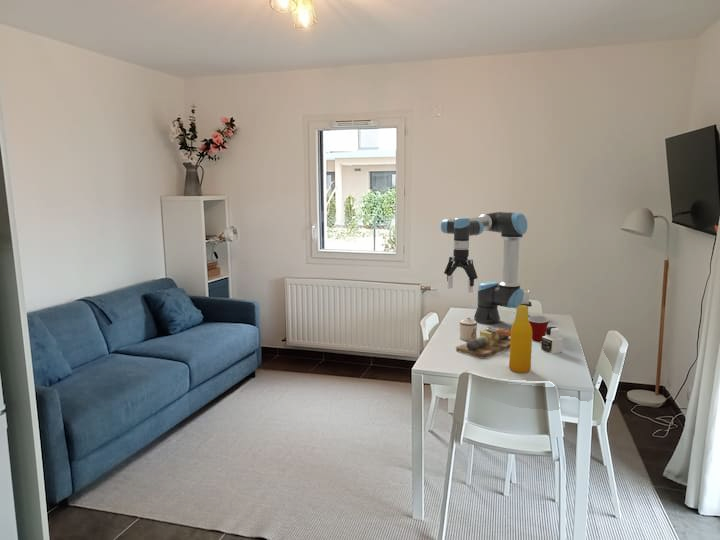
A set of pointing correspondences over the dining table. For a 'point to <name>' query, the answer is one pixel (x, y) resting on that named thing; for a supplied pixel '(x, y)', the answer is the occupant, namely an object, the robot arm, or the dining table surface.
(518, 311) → the beer bottle
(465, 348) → the pipe valve
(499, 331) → the valve lever
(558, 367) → the dining table surface
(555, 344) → the medicine bottle
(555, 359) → the dining table surface
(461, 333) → the teacup with lid
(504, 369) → the dining table surface
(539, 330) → the plastic cup
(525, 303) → the candle holder
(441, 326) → the dining table surface
